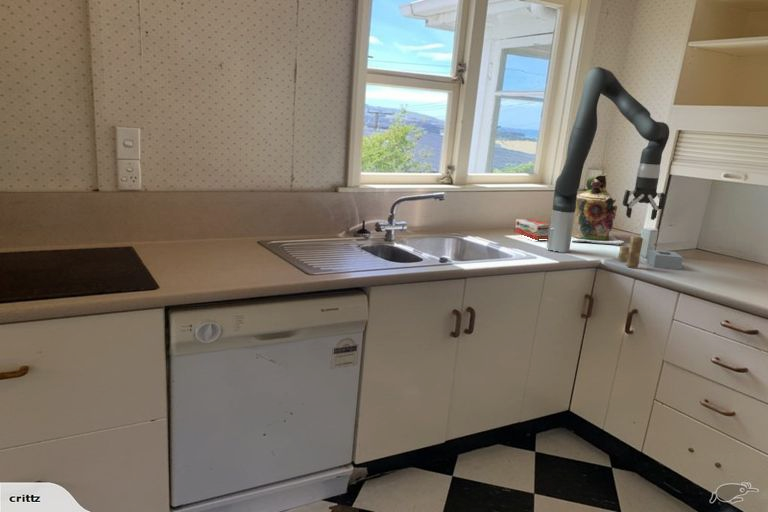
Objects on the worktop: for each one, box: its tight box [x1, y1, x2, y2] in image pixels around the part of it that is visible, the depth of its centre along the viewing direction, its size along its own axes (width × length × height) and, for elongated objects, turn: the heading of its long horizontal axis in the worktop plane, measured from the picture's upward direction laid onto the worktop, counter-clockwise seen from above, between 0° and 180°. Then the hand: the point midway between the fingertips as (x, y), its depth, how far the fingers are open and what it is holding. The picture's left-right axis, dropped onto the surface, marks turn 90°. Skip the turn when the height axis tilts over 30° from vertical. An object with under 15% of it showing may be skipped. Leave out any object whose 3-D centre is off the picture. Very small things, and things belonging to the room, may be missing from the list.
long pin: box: [626, 235, 643, 270], centre depth 212 cm, size 3×3×12 cm
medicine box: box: [513, 218, 551, 240], centre depth 258 cm, size 15×8×8 cm, turn 28°
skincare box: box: [640, 227, 659, 259], centre depth 233 cm, size 6×4×12 cm
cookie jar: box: [571, 173, 625, 246], centre depth 262 cm, size 25×25×32 cm
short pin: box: [617, 244, 630, 263], centre depth 223 cm, size 3×3×6 cm
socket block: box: [646, 249, 684, 271], centre depth 220 cm, size 10×10×5 cm
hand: (640, 218), depth 209 cm, fingers open, 8 cm apart
